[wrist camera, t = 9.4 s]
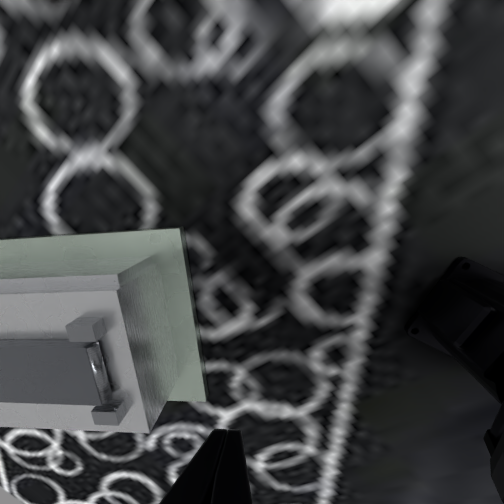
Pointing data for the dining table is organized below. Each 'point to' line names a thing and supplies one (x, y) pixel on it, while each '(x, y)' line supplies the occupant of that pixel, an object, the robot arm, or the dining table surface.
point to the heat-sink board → (107, 321)
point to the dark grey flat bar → (53, 372)
